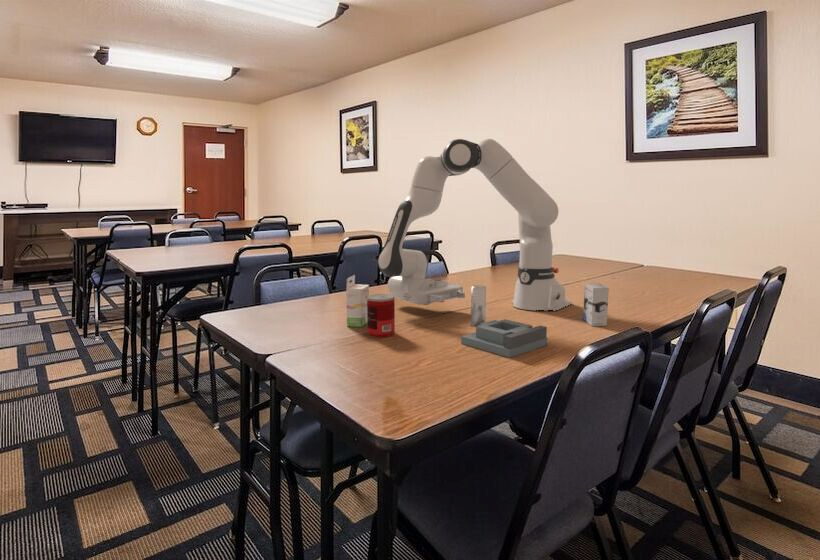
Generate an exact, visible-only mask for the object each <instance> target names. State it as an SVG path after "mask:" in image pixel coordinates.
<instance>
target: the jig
mask: <svg viewBox="0 0 820 560" xmlns="http://www.w3.org/2000/svg"><path fill="white" fill-rule="evenodd" d="M533 326H534V325H531V324H527V323H523V322H518V321H515V320H509V319H505V318H504V319H501V320H496V319H493V320H489V321H485V323H481V324H479V326H477V327H475V332H473V333H472V332H471V333H470V334H469V333H468V334H466V335H465V334H464V335H461V336H460V337H461V339H460V343H461V344H462V345H465V346H467V347H471V348H475V349H477V350H478V349H479V350H481V351H482V350H483V351H484V352H488V353H492V354H496V355H499V356H502V357H505V358H514V357H515V356H518V355H522V354H524V353H528V352H530V351H534V350H536V348H537V349H539V347H540V348H542V346H543V347H545V345H546V346H548V336H547V334H548V333H547V332H548V328H547V327H548V326H543V325H537V326H534V327H533Z"/></svg>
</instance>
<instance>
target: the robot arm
mask: <svg viewBox="0 0 820 560" xmlns="http://www.w3.org/2000/svg"><path fill="white" fill-rule="evenodd" d="M471 169H476V170H478V171H479V172H480V173H481V174H483V176H484V178H486V179H487V181H488V182H489V183H490V184H491V186H493V188H494V189H495V190H496V191H497V192H498V193H499V194H500V195H501V197H502V198H503V199H505V200H506V202H507V203H508V204H510V205H511V206H512V207H513V208H514V210H516V211H517V213H518V215H517V216H518V217H517V218H518V234H519V235H518V237H519V238H518V239H519V265H518V266H517V270H516V271H517V277H518V278H517V280H516V282H515V285H514V286H515V287H514V296H513V299H511V304H513V307H514V308H516V309H521V310H527V311H536V310H537V311H538V310H544V311H548V310H553V311H552V312H557V311H556V310H558V311H560V310H562V309H564V308H566V307H568V305H569V306H570V304H571V305H572V304H573V303H572V300H570V299H566V289H565V286H563V285H562V284H561V283H560V282H559V281H558V280H557V279H556V278H555V277H556V276H555V274H559V272H560V271H559V270H560V269H559V267H553V242H552V233H551V232H552V231H551V225H553V224H554V223H555V222H556V221H557V219H558V217H559V207H558V204H557V202H556V201H555V200H554V199H553V198H552V197H551V196H550V195H549V193H547V191H546V190H545V189H544V188H542V186H541V185H539V183H538V182H536V181H535V180H534V179H533V178H532V177H531V176H530V175H529V174H528V173H527V172H526V170H525V169H523V167H522V166H521V165H520V163H519V162H518V161H517V160H516V159H515V157H513V156H512V154H510V152H509V151H508V150H507V149H506V148H505V147H503V145H501V144H500V143H499V142H497V140H495V139H492V138H486V139H484V140H482V141H480V142H479V143H476V142H473V141H470V140H467V139H463V138H458V139H457V138H456V139H453V140H451V141H450V142H448V143H447V144H446V146H444V148H443V150H442V153H441V154H440V155H439V156H425V157H423V158H420V159H419V161H418V163H417V166H416V168H415V171H414V173H413V177H412V180H411V185H410V189H409V192H408V195H407V196H406V198H405V200H403V201H402V202H401V203H400V204H399V205H398V207H397V209H396V212H395V215H394V218H393V220H392V223H391V226H390V229H389V231H388V234H387V239H386V240H385V243H384V246H383V247H382V249H381V251H380V253H379V256H378V258H377V259H378V260H377V265H378V268H379V270H380V272H381V274H383V275H384V276H385V277H387V278H389V279H388V281H387V289H388V292H389V293H390V295H393V296H394V298H397V299H400V300H401V301H405V302H408V303H409V302H410V303H413V304H416V305H423V306H428V305H431V304H432V303H445V301H447V300H452V299H457V298H458V299H465V297H466V292H464V287H463V286H462V285H460V284H457V283H452V282H447V281H446V280H445V279H430V278H427V274H428V270H429V269H428V266H429V261H428V258H427V255H426V254H425V253H424V251H421V250H417V249H410V248H409V249H407V248H403V246H404V245H403V244H404V241H405V239H406V236H407V233H408V230H409V227H410V226H411V224H412V223H413V222H414V221H416V220H418V219H421V218H424V217H427V216H430V215H432V214H434V213H435V212H436V211H437V210H438V208H439V207H440V204H441V202H442V197H443V193H444V187H445V183H446V181H447V179H448V177H451V176H455V177H456V176H461V175H463V174H466V173H467V172H469V171H470V170H471ZM565 306H566V307H565ZM563 307H564V308H563ZM561 308H562V309H561ZM559 309H560V310H559ZM537 311H536V312H537Z"/></svg>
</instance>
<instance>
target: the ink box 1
mask: <svg viewBox="0 0 820 560" xmlns="http://www.w3.org/2000/svg"><path fill="white" fill-rule="evenodd" d="M350 281H351V282H350ZM355 282H356V275H355V274H353V275H352V276H349V277H348V278H346V289H345V291H346V293H345V294H346V327H349V326H350V328H362V327H364V326H365V325H366V324H368V322H367V297H368V296H369V295H370V284H358V283H357V284H356V283H355Z"/></svg>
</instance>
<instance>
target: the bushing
mask: <svg viewBox="0 0 820 560" xmlns="http://www.w3.org/2000/svg"><path fill="white" fill-rule="evenodd" d="M470 291H471V293H470V294H471V295H470V299H471V300H470V301H471V302H470V326H471V327H473V326H474V328H476V327H477V326H479V324H481V323H485V322H486V315H487V312H486V311H487V307H486V306H487V286H486V285H480V284H477V285H472V286H471V290H470Z"/></svg>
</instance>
